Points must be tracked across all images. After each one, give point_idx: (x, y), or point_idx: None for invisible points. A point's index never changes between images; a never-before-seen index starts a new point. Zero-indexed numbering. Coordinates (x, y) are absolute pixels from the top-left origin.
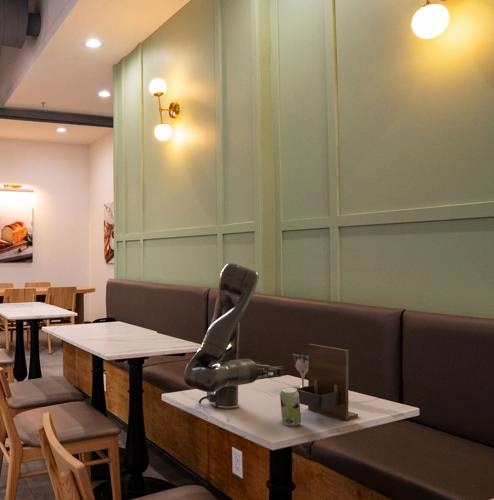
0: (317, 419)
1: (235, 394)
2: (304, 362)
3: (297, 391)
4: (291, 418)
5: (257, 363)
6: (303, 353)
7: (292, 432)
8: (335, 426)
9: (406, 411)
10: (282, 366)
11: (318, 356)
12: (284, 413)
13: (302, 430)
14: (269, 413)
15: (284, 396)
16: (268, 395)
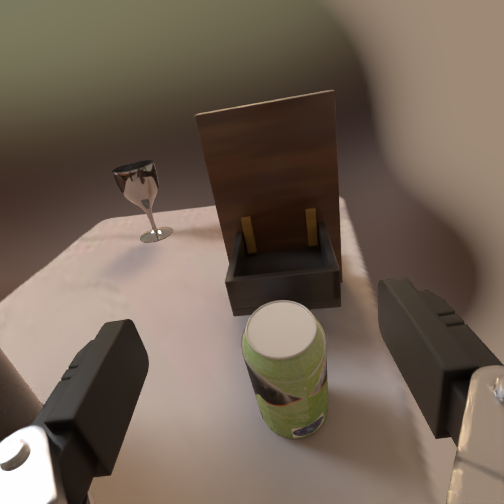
0: None
1: (22, 418)
2: (146, 183)
3: (245, 283)
4: (317, 417)
5: (105, 371)
6: (130, 166)
7: (379, 494)
8: (370, 322)
9: (342, 200)
10: (412, 285)
11: (239, 145)
12: (289, 419)
13: (369, 433)
14: (178, 388)
15: (289, 375)
16: (111, 293)
